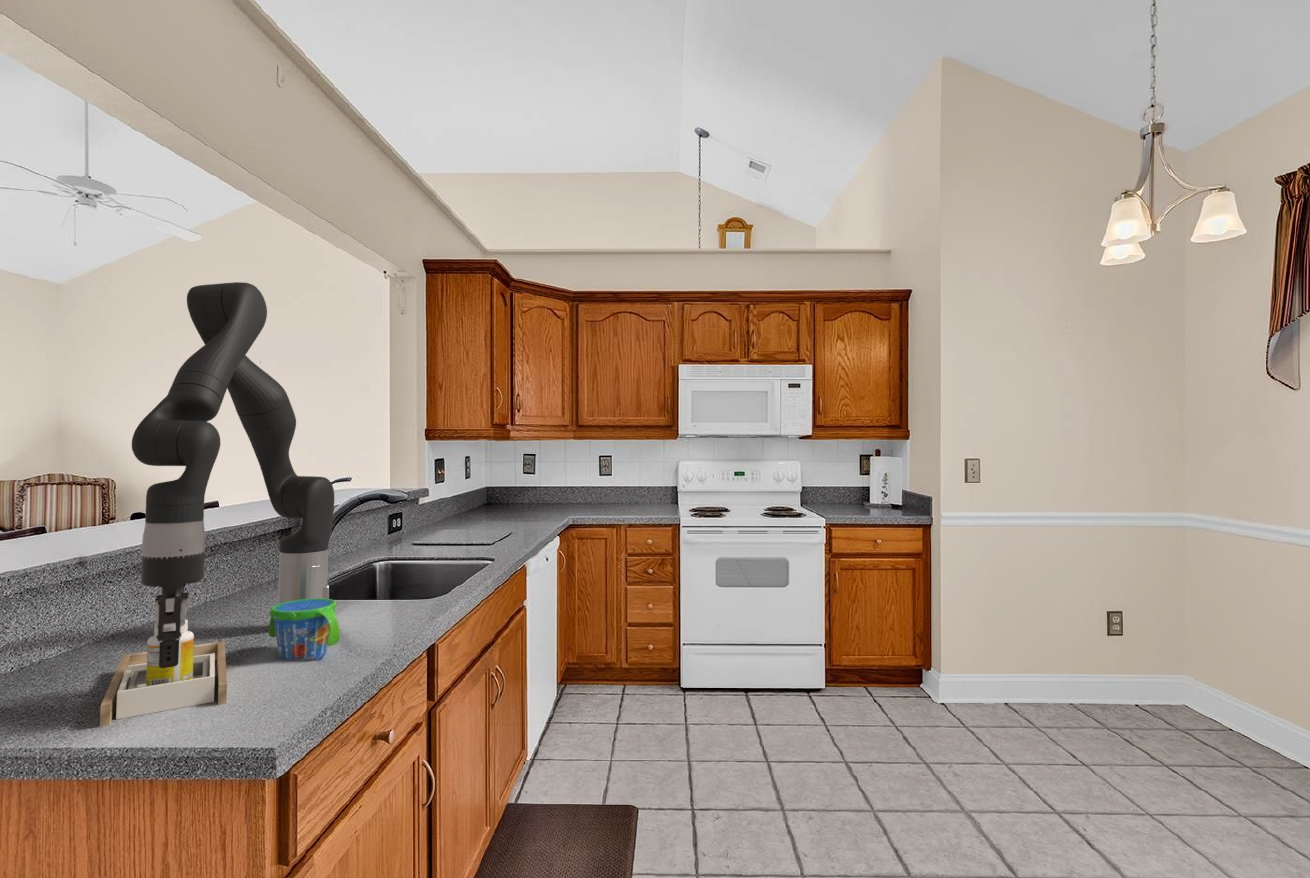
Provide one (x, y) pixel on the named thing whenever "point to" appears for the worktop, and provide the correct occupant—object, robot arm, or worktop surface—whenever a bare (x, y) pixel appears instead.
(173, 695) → the box
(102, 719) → the bay
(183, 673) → the supplement bottle
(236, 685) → the worktop surface
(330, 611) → the snack cup
